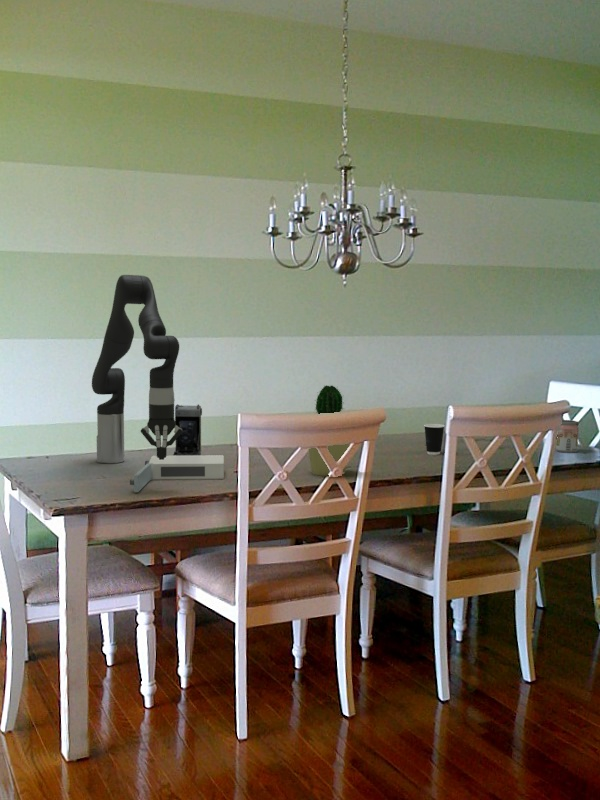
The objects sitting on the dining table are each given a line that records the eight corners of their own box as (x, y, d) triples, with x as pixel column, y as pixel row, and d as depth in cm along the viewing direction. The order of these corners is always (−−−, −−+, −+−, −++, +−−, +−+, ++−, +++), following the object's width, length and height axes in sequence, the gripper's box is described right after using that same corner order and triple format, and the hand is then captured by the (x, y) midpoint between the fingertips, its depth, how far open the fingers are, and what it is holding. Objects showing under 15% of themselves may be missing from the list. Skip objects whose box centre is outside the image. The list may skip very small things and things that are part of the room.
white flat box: (143, 479, 277) (143, 464, 277) (147, 470, 293) (147, 455, 293) (223, 478, 279) (223, 463, 279) (223, 469, 295) (223, 455, 295)
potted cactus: (306, 477, 284) (306, 385, 281) (304, 468, 299) (305, 381, 296) (353, 477, 284) (354, 385, 281) (349, 468, 299) (350, 381, 296)
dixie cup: (419, 453, 332) (419, 425, 331) (431, 451, 338) (432, 423, 336) (435, 456, 326) (436, 427, 325) (448, 453, 332) (449, 425, 331)
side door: (142, 478, 277) (142, 462, 277) (153, 478, 277) (153, 463, 277) (128, 492, 256) (128, 475, 256) (140, 492, 256) (140, 475, 256)
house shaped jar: (554, 448, 346) (555, 419, 345) (576, 449, 344) (577, 419, 343) (556, 452, 337) (557, 421, 336) (578, 453, 335) (580, 422, 334)
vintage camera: (170, 466, 304) (171, 409, 302) (175, 456, 320) (175, 403, 317) (198, 466, 305) (199, 410, 302) (201, 457, 320) (202, 404, 317)
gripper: (138, 403, 256) (138, 461, 258) (183, 403, 257) (183, 461, 259) (140, 400, 263) (140, 457, 265) (184, 400, 265) (184, 457, 267)
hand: (161, 459), depth 262 cm, fingers closed
